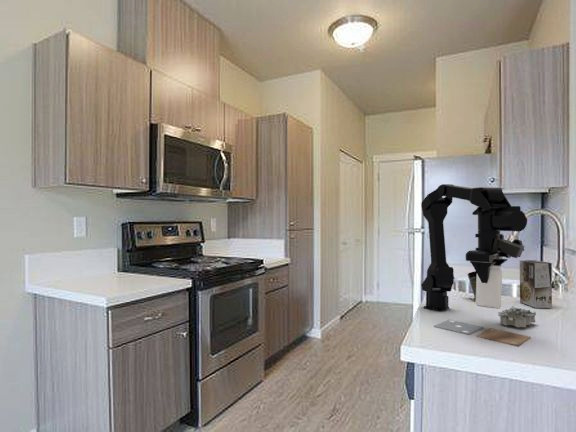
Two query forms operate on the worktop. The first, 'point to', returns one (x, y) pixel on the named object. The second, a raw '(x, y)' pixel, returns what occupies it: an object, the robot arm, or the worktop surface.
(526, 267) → the coffee box
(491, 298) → the can
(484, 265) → the robot arm
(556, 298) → the worktop surface
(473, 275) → the supplement container
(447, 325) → the slate mat
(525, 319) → the egg carton
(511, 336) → the walnut mat
